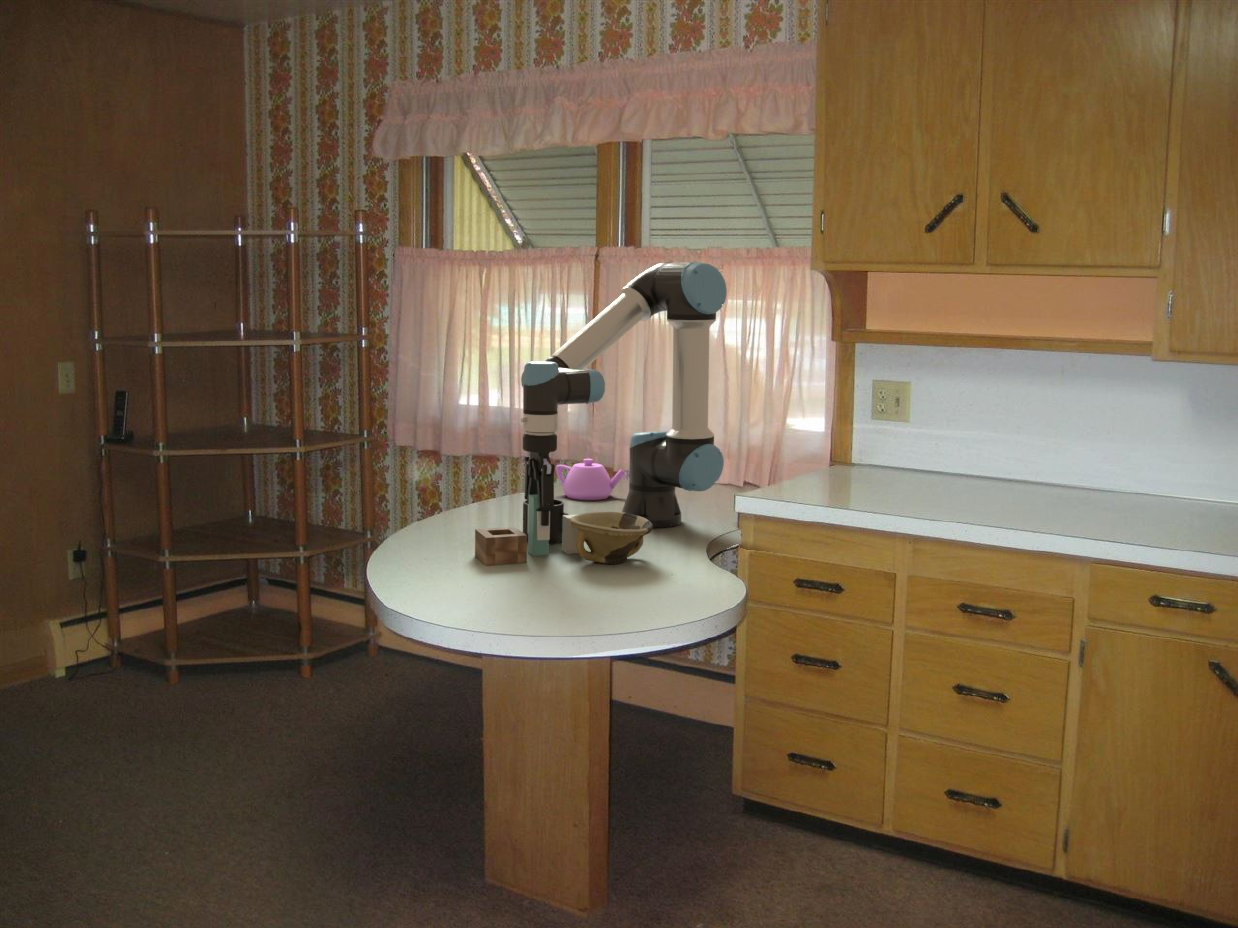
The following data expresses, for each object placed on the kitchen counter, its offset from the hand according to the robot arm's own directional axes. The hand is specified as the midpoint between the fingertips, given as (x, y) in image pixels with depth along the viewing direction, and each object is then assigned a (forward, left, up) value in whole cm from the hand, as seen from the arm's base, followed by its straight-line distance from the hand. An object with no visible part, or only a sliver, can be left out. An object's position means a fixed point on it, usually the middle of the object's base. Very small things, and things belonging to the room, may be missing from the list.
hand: (538, 536), depth 267 cm
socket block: (+10, +3, -4) cm, 11 cm away
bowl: (-13, +11, -4) cm, 18 cm away
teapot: (-35, -62, -4) cm, 71 cm away
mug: (-6, -12, -4) cm, 14 cm away
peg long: (0, 0, -4) cm, 4 cm away
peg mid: (-8, 0, -4) cm, 9 cm away
